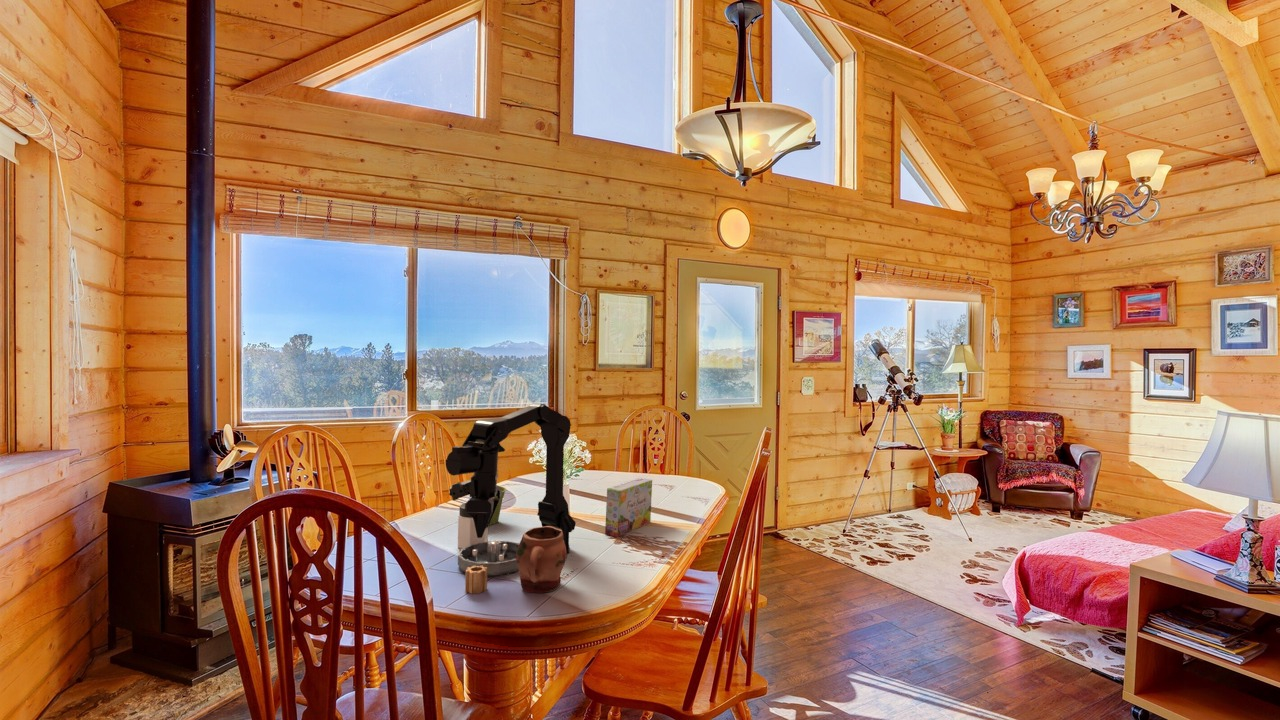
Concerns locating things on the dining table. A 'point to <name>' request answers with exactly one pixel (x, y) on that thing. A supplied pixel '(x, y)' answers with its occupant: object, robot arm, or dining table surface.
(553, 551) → the terracotta mug
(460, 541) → the jar
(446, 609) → the dining table surface
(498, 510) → the plant pot
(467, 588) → the bronze pinion
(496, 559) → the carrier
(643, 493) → the snack box
